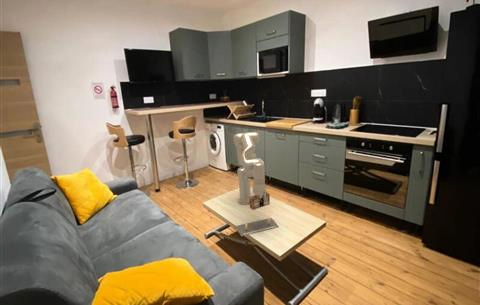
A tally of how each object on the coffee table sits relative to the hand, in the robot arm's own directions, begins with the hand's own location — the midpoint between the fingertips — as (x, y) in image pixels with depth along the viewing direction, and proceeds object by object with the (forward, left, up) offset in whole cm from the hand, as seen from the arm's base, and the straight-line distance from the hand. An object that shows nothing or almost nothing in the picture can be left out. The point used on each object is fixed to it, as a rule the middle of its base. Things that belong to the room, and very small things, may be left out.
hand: (259, 204), depth 164 cm
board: (+1, -3, -17) cm, 18 cm away
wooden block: (0, 0, -1) cm, 1 cm away
